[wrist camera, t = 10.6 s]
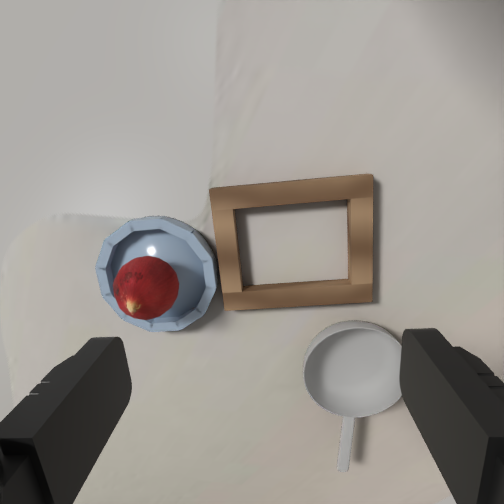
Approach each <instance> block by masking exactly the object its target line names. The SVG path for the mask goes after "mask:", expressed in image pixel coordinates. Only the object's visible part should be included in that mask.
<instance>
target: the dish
mask: <svg viewBox="0 0 504 504" xmlns="http://www.w3.org/2000/svg"><path fill="white" fill-rule="evenodd" d="M143 256H152V257H157V258H160V259H162V260H163V261H165V262H167V263H169V265H170V266H171V267H172V268H173V269H174V271H175V272H176V274H177V277H178V281H179V291H178V296H177V299H176V300H175V302H174V304H173V306H172V307H171V308H170V309H169V310H168V311H166V312H165V313H164V314H163V315H161V316H160V317H156V318H153V319H149V320H141V319H135V318H133V317H130V316H128V315H126V314H125V313H124V312H123V311H122V310H121V309H120V308H119V306H118V304H117V301H116V299H115V297H114V291H113V282H114V280H115V278H116V276H117V274H118V272H119V270H120V269H121V267H122V266H123V265H125V264H126V263H128V262H129V261H131V260H132V259H134V258H137V257H143ZM95 267H96V268H95V269H96V273H97V277H98V282H99V286H100V290H101V294H102V296H103V298H104V299H105V301H106V302H107V303H108V304H109V305H110V306H111V307H112V309H113V310H114V311H115V312H116V313H117V314H118V315H119V317H120V318H121V319H123V320H124V321H126V322H128V323H131V324H133V325H135V326H138V327H140V328H142V329H145V330H147V331H149V332H150V331H151V332H160V331H178V330H182V329H183V328H185V327H186V326H188V325H189V324H191V323H193V322H194V321H196V320H197V319H199V318H200V317H202V316H203V315H204V314H205V312H206V310H207V308H208V306H209V304H210V301H211V299H212V297H213V295H214V293H215V291H216V288H217V286H218V281H217V278H218V271H217V263H216V259H215V256H214V254H213V251H212V249H211V247H210V246H209V244H208V243H207V241H206V240H205V239H204V238H203V237H202V235H201V234H200V233H198V232H197V231H196V230H195V229H194V228H192V227H191V226H189V225H188V224H186V223H184V222H182V221H180V220H177V219H174V218H170V217H165V216H149V217H144V218H137V219H132V220H130V221H128V222H127V223H125V224H124V225H123V226H121V227H120V228H119V229H118V230H116V231H115V232H114V233H112V234H111V235H110V236H108V237H107V238H106V239H105V240H104V242H103V245H102V248H101V251H100V254H99V257H98V260H97V263H96V266H95Z"/></svg>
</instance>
